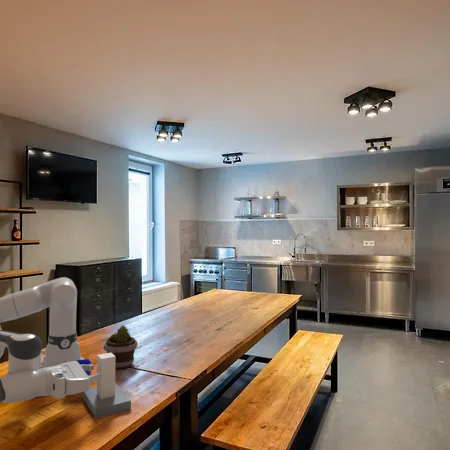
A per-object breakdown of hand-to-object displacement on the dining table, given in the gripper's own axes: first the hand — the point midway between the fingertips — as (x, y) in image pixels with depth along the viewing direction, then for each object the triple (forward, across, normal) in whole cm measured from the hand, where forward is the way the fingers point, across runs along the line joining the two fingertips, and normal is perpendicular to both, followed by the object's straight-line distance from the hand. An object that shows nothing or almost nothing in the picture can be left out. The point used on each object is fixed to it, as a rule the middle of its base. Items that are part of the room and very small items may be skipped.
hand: (97, 371), depth 132 cm
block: (+3, 0, -9) cm, 10 cm away
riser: (+3, 0, -12) cm, 13 cm away
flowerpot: (+20, -33, -12) cm, 41 cm away
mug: (0, -20, -12) cm, 23 cm away
